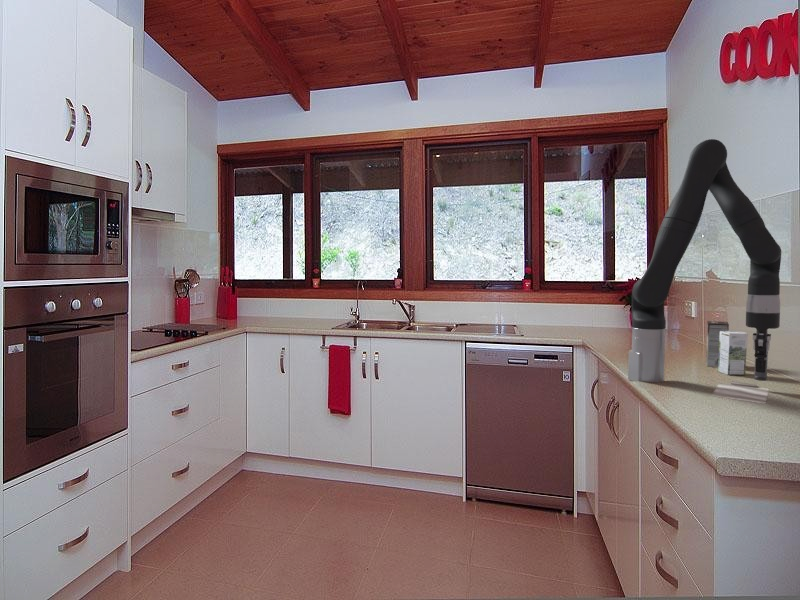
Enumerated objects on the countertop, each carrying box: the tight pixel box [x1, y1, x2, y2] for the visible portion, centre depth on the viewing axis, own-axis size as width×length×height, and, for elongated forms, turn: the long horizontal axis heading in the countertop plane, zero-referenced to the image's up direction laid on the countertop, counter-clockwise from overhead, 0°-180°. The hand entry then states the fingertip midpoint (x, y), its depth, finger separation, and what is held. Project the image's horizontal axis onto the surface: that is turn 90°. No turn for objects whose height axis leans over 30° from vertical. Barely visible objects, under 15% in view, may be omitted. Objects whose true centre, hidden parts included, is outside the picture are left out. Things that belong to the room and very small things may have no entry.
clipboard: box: [711, 381, 770, 404], centre depth 127 cm, size 22×14×2 cm, turn 139°
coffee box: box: [705, 320, 730, 368], centre depth 168 cm, size 9×6×16 cm
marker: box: [753, 343, 769, 382], centre depth 128 cm, size 3×3×12 cm
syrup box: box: [717, 330, 749, 376], centre depth 154 cm, size 6×6×14 cm
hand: (760, 370), depth 129 cm, fingers closed on marker, 2 cm apart
